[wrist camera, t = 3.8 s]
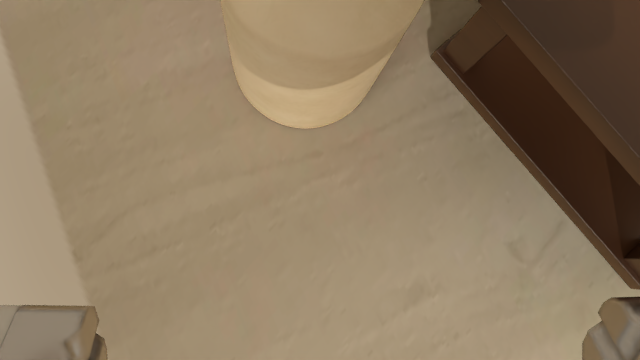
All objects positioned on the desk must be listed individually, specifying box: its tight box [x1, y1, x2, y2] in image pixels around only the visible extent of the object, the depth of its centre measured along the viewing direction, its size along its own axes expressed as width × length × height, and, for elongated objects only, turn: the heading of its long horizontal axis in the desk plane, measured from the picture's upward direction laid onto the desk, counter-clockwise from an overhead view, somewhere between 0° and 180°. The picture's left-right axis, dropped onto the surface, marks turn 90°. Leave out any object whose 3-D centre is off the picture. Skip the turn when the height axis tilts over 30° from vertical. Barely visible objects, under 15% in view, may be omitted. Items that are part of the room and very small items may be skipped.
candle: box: [220, 0, 424, 129], centre depth 18 cm, size 6×6×10 cm
